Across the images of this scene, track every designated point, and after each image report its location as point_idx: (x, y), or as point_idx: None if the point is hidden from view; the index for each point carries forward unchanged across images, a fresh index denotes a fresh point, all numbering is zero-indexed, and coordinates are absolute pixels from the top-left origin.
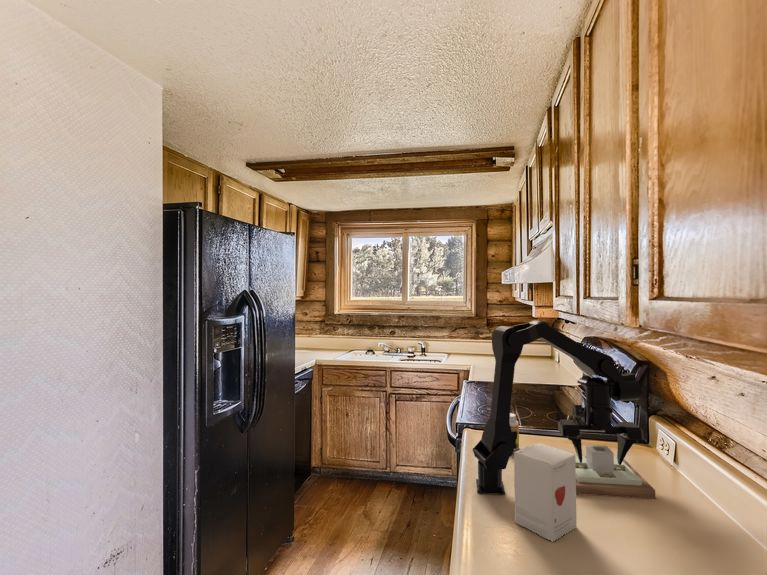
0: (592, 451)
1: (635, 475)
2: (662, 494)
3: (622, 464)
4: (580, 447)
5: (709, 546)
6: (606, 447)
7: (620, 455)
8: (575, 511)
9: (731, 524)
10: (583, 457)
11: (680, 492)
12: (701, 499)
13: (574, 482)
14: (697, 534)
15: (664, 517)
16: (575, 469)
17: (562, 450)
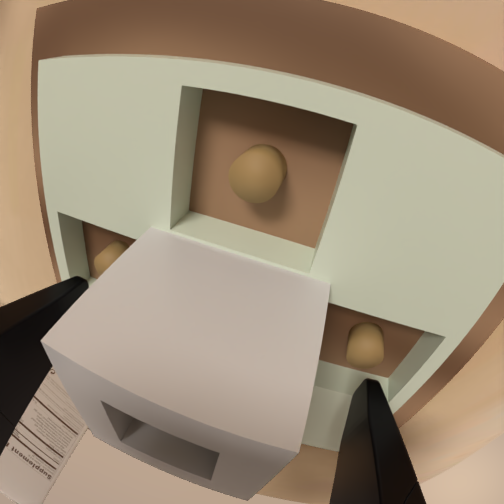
0: (97, 435)
1: None
2: (429, 409)
3: (442, 329)
4: (17, 410)
5: (304, 491)
6: (258, 466)
7: (339, 475)
8: (84, 431)
9: (421, 480)
10: (161, 117)
11: (500, 403)
12: (499, 429)
13: (57, 474)
14: (317, 483)
15: (303, 458)
16: (47, 494)
17: (10, 499)
